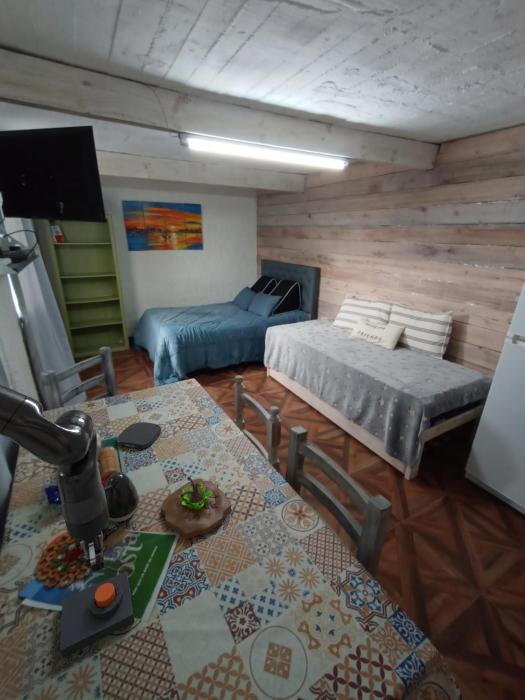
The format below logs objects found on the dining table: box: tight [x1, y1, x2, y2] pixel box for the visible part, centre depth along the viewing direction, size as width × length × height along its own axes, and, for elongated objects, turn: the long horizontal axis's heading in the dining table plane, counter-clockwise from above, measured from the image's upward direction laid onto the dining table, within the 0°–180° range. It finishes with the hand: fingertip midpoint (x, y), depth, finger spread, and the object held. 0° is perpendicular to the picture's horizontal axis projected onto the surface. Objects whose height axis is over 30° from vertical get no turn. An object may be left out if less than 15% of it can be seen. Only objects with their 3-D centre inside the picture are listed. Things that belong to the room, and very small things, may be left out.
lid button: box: [95, 583, 115, 607], centre depth 72 cm, size 4×4×2 cm
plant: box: [160, 475, 232, 540], centre depth 99 cm, size 20×20×11 cm
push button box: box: [59, 570, 136, 659], centre depth 72 cm, size 14×11×4 cm
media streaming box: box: [117, 421, 162, 450], centre depth 134 cm, size 15×15×3 cm
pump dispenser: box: [104, 471, 140, 523], centre depth 96 cm, size 10×10×15 cm
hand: (98, 567), depth 69 cm, fingers closed
